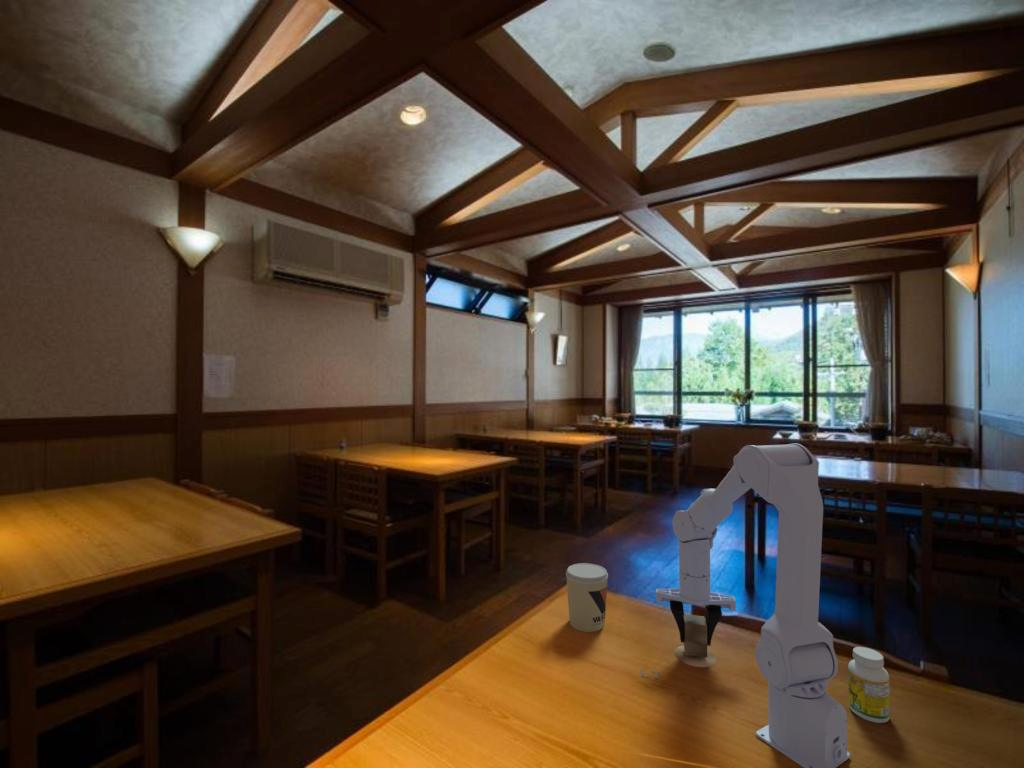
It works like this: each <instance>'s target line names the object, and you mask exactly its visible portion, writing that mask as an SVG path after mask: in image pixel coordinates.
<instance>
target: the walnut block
mask: <svg viewBox="0 0 1024 768" xmlns="http://www.w3.org/2000/svg"><path fill="white" fill-rule="evenodd" d="M684 636H685V643H684V642H682V643H683V645H684V650H685V655H692V656H699V657H707V650H708V645H707V624H706V616H704V615H695V614H687V613H684Z"/></svg>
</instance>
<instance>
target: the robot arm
mask: <svg viewBox="0 0 1024 768" xmlns="http://www.w3.org/2000/svg"><path fill="white" fill-rule="evenodd" d="M819 465H820V461H819V460H818V459H817V458H816V457H815V456H814V455H813V454H812V452H811V451H810V450H809V449H808V448H807V447H806V446H804V445H802V444H800V443H797V442H795V443H787V444H769V445H767V444H766V445H754V444H747V445H745V446H743V447H742V448H741V449H740V450H739V452H738V453H737V454H736V455H734V456H733V466H732V468H731V469H730V470H729V471H728V472H727V474H726V476H724V477H723V479H722V480H721V481H720V482H719V484H718V486H717V487H716V488H704V489H702V490H700V496H698V498H697V499H695V501H694V502H692V503H690V505H689V507H688V508H687V509H685V510H681V509H680V510H675V513H674V514H673V517H672V530H673V533H674V534H675V536H676V538H677V539H678V574H679V575H678V579H679V580H678V582H679V583H678V588H655V601H656V603H663V602H665V603H666V602H667V603H669V608H670V611H671V614H672V615H673V618H674V620H675V622H676V625H677V629H678V632H679V638H680V639H679V640H680V642H681V643H683V642H684V643H685V636H684V614H685V610H684V604H685V605H693V606H703V607H704V608H705V609H704V610H705V612H704V613H705V620H706V624H707V647H708V646H709V647H710V646H711V643H712V639H713V635H714V632H715V629H716V628H717V625H718V623H719V622H720V620H721V619H722V615H723V611H722V609H728V610H730V611H736V608H737V606H736V605H737V604H736V603H737V601H736V599H735V597H734V596H733V595H726V594H721V593H717V592H714V591H713V592H712V591H711V549H713V548H714V539H715V538H716V536H717V532H718V526H719V525H721V523H723V521H725V520H726V519H727V518H728V517H729V516H730V515H731V514H732V513H733V509H734V507H733V503H734V502H735V501H737V500H738V499H739V498H740V497H742V496H744V494H746V493H747V492H748V491H749V490H751V489H752V490H753V491H754V492H756V494H758V496H760V497H761V498H762V499H763V500H765V501H766V502H767V503H769V504H771V505H773V506H774V507H775V508H776V510H777V511H778V526H777V527H778V530H777V553H776V554H777V555H776V556H777V557H776V573H775V574H776V578H775V598H774V599H775V601H774V602H775V603H774V604H775V605H774V613H773V614H772V616H770V618H769V619H768V620H767V621H766V622H765V623H764V624H763V625H762V626H761V628H760V638H759V640H758V641H757V643H756V645H755V650H754V654H755V662H756V665H757V667H758V670H759V671H760V673H761V675H762V676H763V678H764V679H765V680H766V681H767V682H768V685H767V686H768V692H767V693H768V696H767V697H768V724H767V725H765V726H764V727H762V728H760V729H758V730H757V731H755V736H756V737H757V738H759V739H760V740H762V741H763V742H765V743H766V744H767V745H768V746H771V747H772V748H774V749H775V750H776V751H778V752H780V753H781V754H782V755H784V756H785V757H787V758H789V759H790V760H791V761H793V762H795V763H796V764H797V765H799V766H800V767H802V768H838V767H839V766H840V765H842V764H843V763H845V761H846V762H847V761H848V759H849V758H851V753H850V752H849V751H848V715H847V711H846V708H845V707H844V705H842V703H839V702H838V701H837V700H835V699H834V698H833V697H832V696H831V695H830V694H829V693H828V692H827V690H826V689H827V688H829V679H832V678H834V677H836V675H837V673H838V670H839V669H838V668H839V663H838V657H837V654H836V651H835V648H834V635H833V634H832V632H830V630H829V629H828V628H826V626H824V625H823V624H822V623H821V622H819V613H820V612H819V610H820V609H819V608H820V605H819V604H820V590H821V589H820V588H821V587H820V586H821V568H822V567H821V566H822V565H821V564H822V563H821V562H822V545H823V544H822V543H823V542H822V541H823V525H824V524H823V523H824V522H823V521H824V520H823V519H824V503H823V498H822V494H821V491H820V487H819V469H820V466H819Z"/></svg>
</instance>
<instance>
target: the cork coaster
mask: <svg viewBox="0 0 1024 768" xmlns="http://www.w3.org/2000/svg"><path fill="white" fill-rule="evenodd" d="M674 655H675V657H676V658H677V659H678V660H679V661H680V662H682V663H684V664H686V665H688V666H691V667H696V668H707V667H712V666H714V665H715V664H716V662H717V658H716V656H715V654H714V653H713V652H712V651H709V650H708V649H707V657H699V656H692V655H685V650H684V644H683V645H680V646H678V647H677V648H675V650H674Z"/></svg>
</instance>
